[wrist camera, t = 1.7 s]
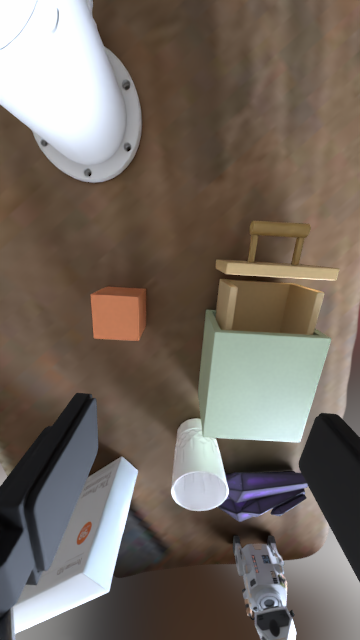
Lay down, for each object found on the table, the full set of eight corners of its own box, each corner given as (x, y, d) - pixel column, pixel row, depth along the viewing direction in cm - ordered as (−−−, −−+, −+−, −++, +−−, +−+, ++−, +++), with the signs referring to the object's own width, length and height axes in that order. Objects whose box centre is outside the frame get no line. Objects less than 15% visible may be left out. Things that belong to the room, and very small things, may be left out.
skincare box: (120, 452, 40) (82, 573, 25) (139, 469, 42) (114, 593, 26) (48, 498, 45) (-22, 625, 30) (67, 512, 46) (10, 640, 31)
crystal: (324, 487, 34) (200, 506, 33) (312, 524, 38) (203, 541, 38) (297, 445, 40) (193, 460, 39) (290, 481, 45) (197, 495, 44)
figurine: (275, 516, 45) (318, 638, 31) (270, 549, 49) (306, 672, 35) (233, 517, 46) (256, 638, 31) (231, 549, 49) (250, 671, 35)
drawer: (219, 224, 27) (232, 214, 20) (309, 229, 27) (353, 221, 20) (206, 350, 32) (213, 377, 25) (280, 354, 32) (307, 383, 25)
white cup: (223, 440, 39) (237, 501, 29) (185, 454, 40) (186, 517, 31) (206, 409, 37) (214, 463, 27) (166, 424, 38) (161, 482, 28)
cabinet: (205, 309, 31) (214, 331, 23) (290, 314, 31) (331, 338, 23) (197, 392, 36) (202, 437, 27) (271, 396, 36) (300, 442, 27)
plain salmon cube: (106, 286, 30) (90, 294, 25) (146, 288, 30) (138, 297, 25) (108, 323, 32) (93, 338, 27) (146, 325, 32) (138, 341, 27)
